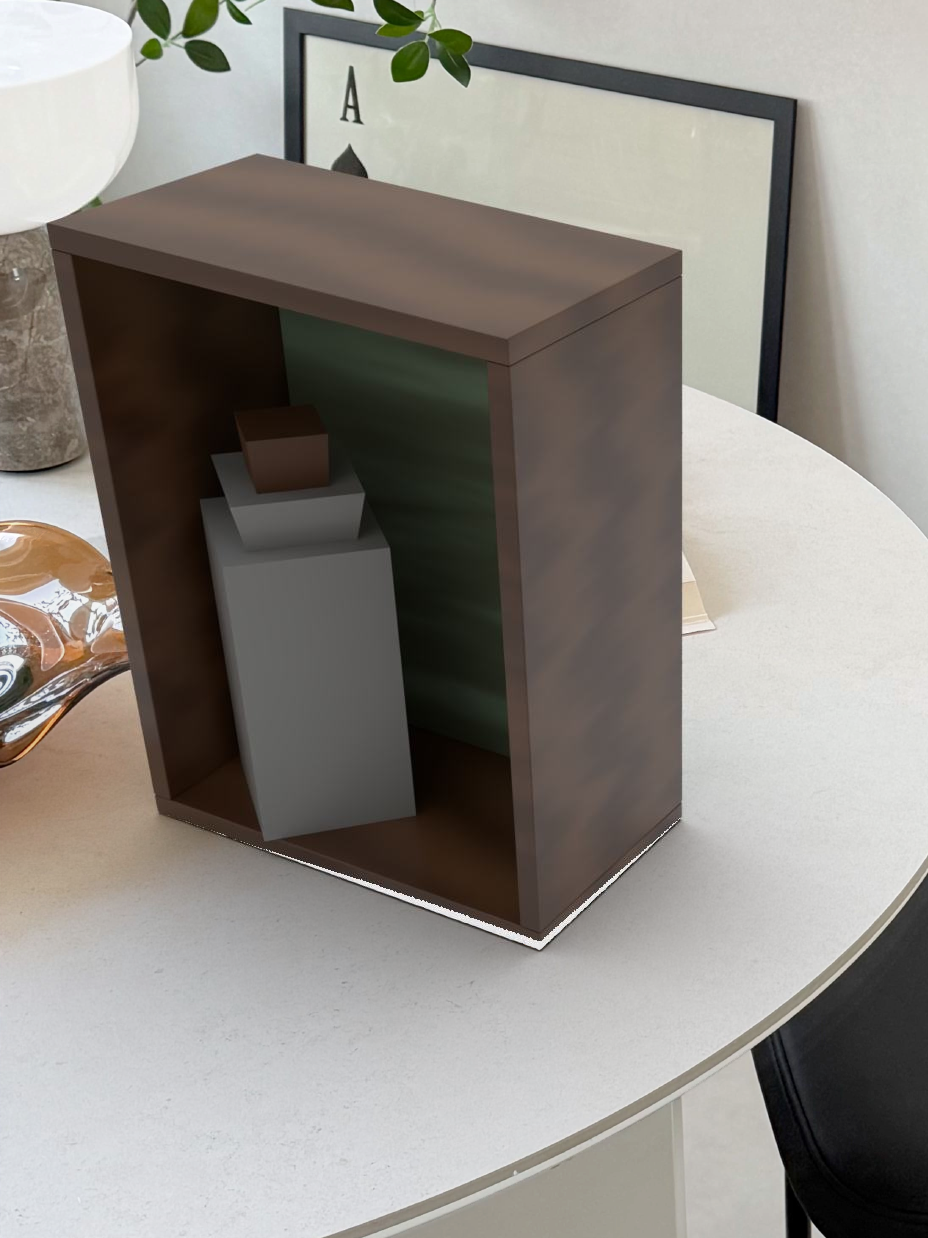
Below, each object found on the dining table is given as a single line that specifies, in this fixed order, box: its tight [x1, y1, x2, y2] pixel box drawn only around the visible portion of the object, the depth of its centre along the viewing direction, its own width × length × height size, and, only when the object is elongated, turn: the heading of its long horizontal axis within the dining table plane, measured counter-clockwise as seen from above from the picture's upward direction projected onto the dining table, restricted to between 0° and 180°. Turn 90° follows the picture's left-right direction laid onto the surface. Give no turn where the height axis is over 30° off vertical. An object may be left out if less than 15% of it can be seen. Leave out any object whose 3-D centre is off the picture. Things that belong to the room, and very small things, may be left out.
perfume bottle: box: [200, 404, 416, 841], centre depth 86 cm, size 7×7×18 cm
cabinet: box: [45, 153, 683, 941], centre depth 84 cm, size 12×21×27 cm, turn 65°
